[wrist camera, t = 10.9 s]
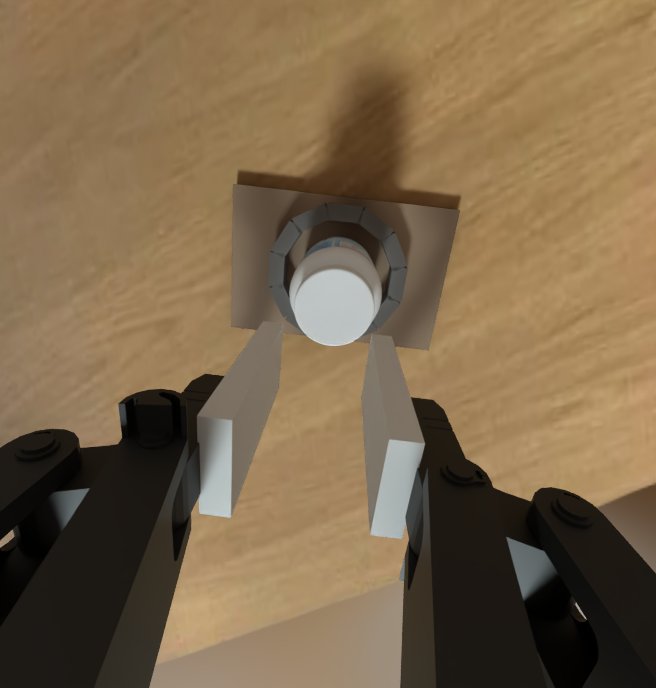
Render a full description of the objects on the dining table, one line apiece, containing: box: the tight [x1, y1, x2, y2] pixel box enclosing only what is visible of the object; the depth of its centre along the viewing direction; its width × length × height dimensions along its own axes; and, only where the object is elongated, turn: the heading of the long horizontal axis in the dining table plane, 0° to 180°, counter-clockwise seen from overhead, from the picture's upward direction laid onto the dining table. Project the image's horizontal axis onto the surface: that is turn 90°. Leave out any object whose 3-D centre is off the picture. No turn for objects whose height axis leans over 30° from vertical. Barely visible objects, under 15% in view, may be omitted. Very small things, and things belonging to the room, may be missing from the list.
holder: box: [231, 184, 460, 350], centre depth 31 cm, size 18×12×3 cm, turn 84°
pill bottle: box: [289, 236, 382, 346], centre depth 26 cm, size 6×6×11 cm
